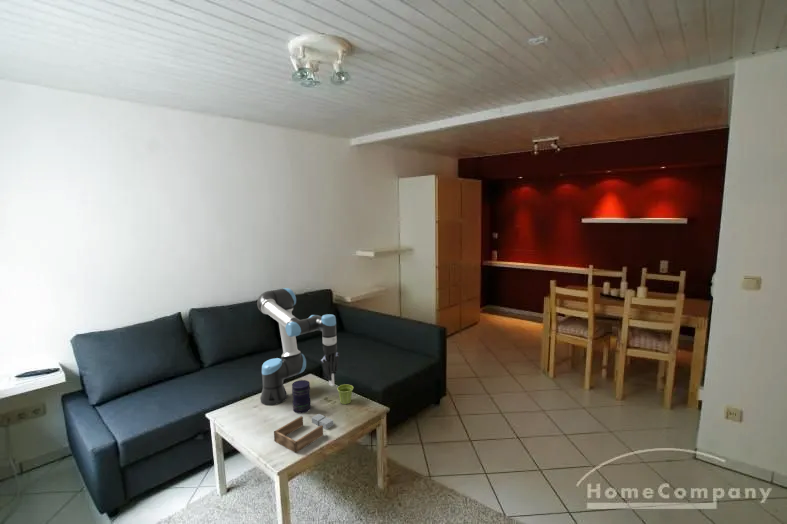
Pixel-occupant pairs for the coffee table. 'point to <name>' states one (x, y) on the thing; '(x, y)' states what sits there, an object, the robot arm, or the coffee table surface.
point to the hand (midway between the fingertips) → (331, 385)
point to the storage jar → (301, 396)
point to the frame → (300, 443)
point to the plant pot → (345, 393)
